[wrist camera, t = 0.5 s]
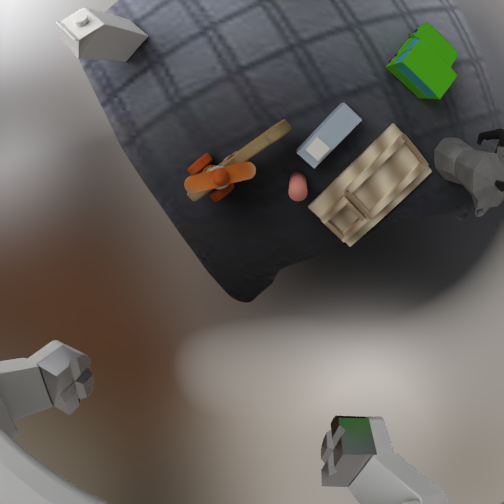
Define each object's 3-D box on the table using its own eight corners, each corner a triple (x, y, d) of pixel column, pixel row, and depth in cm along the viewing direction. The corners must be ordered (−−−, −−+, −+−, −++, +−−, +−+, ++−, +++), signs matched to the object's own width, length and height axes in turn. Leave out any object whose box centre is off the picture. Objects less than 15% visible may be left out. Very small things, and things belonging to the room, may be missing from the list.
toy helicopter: (188, 168, 53) (158, 190, 41) (274, 102, 44) (267, 102, 33) (214, 200, 56) (191, 230, 44) (302, 138, 47) (304, 151, 35)
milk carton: (126, 62, 43) (61, 58, 26) (108, 45, 41) (44, 39, 24) (149, 36, 40) (88, 20, 23) (129, 19, 37) (68, 3, 21)
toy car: (452, 58, 33) (479, 55, 24) (419, 101, 39) (444, 104, 31) (413, 21, 31) (435, 9, 22) (378, 64, 38) (396, 56, 29)
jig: (392, 123, 42) (398, 125, 39) (430, 170, 45) (437, 174, 42) (308, 205, 53) (308, 212, 50) (349, 244, 56) (351, 253, 53)
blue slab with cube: (341, 103, 43) (345, 103, 39) (357, 118, 44) (363, 120, 39) (296, 149, 48) (296, 153, 44) (313, 163, 49) (314, 170, 45)
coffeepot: (457, 195, 46) (504, 234, 31) (423, 180, 46) (468, 216, 31) (478, 129, 38) (534, 148, 23) (444, 108, 38) (500, 119, 23)
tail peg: (297, 168, 50) (297, 179, 43) (309, 179, 51) (311, 192, 44) (286, 179, 51) (284, 192, 44) (298, 190, 52) (298, 204, 45)
